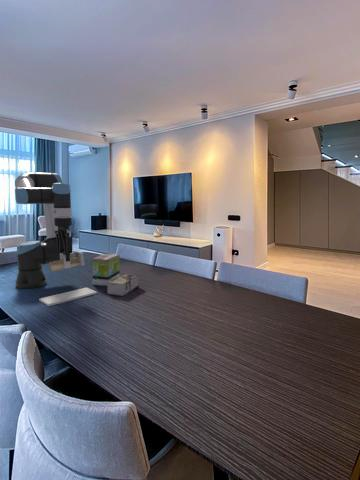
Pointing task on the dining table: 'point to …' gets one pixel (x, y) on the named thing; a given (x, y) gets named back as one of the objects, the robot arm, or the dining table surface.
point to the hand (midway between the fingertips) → (65, 267)
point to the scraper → (74, 261)
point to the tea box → (105, 268)
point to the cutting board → (67, 296)
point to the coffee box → (123, 285)
